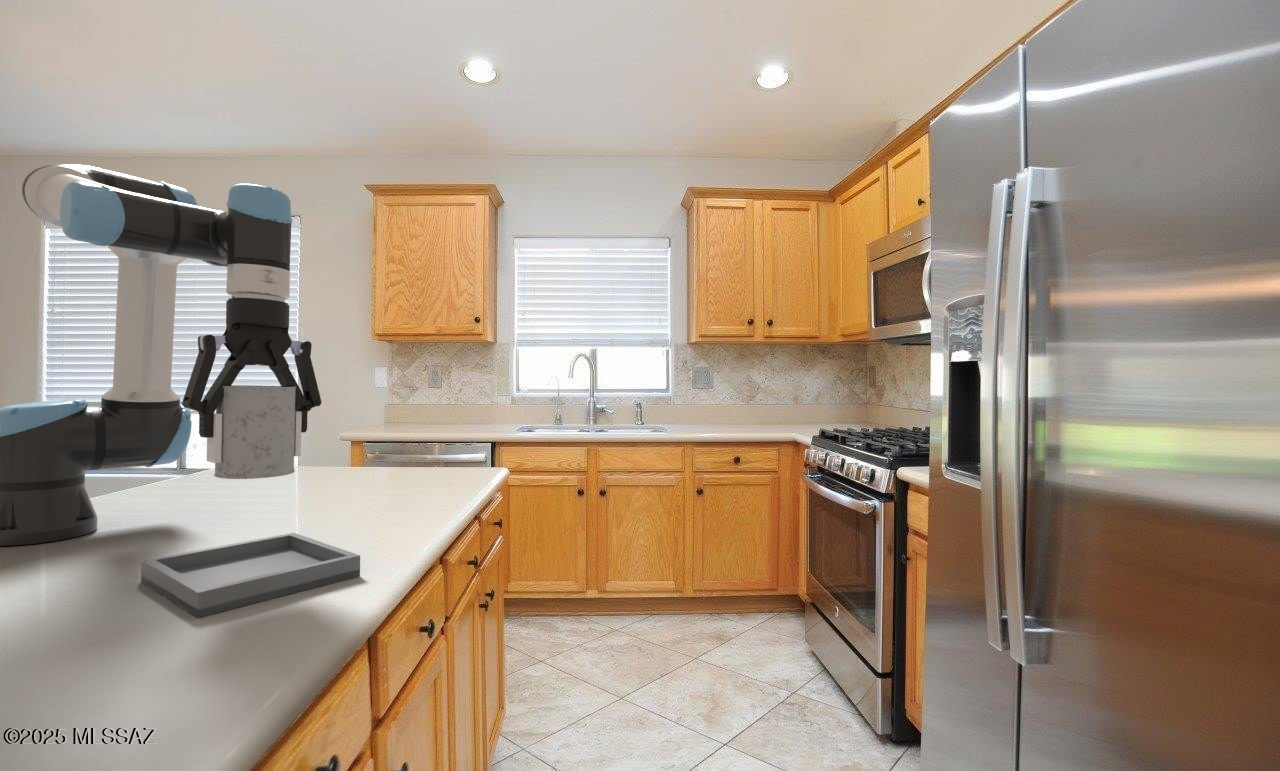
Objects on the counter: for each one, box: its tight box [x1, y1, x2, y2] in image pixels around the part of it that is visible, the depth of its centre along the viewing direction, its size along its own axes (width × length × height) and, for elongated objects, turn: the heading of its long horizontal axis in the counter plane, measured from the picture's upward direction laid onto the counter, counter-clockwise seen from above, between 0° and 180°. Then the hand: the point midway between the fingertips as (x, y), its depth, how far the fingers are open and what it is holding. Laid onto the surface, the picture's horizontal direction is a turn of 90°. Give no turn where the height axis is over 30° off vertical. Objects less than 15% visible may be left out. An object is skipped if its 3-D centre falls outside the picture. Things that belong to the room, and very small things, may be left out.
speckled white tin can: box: [213, 384, 296, 480], centre depth 85 cm, size 10×10×12 cm
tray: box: [140, 532, 361, 619], centre depth 85 cm, size 20×20×3 cm
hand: (255, 458), depth 85 cm, fingers closed on speckled white tin can, 9 cm apart
